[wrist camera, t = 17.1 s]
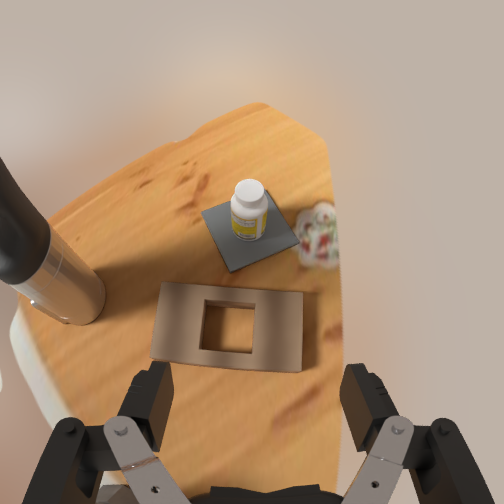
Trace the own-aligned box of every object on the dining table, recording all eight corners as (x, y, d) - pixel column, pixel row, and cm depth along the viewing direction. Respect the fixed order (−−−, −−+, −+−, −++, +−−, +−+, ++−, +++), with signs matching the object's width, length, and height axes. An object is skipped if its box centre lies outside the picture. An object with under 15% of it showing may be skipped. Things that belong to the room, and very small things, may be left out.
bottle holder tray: (299, 299, 44) (303, 292, 42) (297, 372, 39) (301, 371, 37) (166, 288, 44) (161, 281, 42) (155, 360, 39) (149, 357, 37)
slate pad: (230, 273, 46) (230, 271, 46) (201, 213, 51) (200, 211, 50) (298, 243, 49) (298, 241, 48) (264, 190, 54) (264, 188, 53)
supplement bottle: (253, 208, 51) (256, 169, 42) (271, 232, 49) (278, 195, 40) (225, 222, 49) (222, 184, 41) (243, 248, 48) (243, 212, 39)
